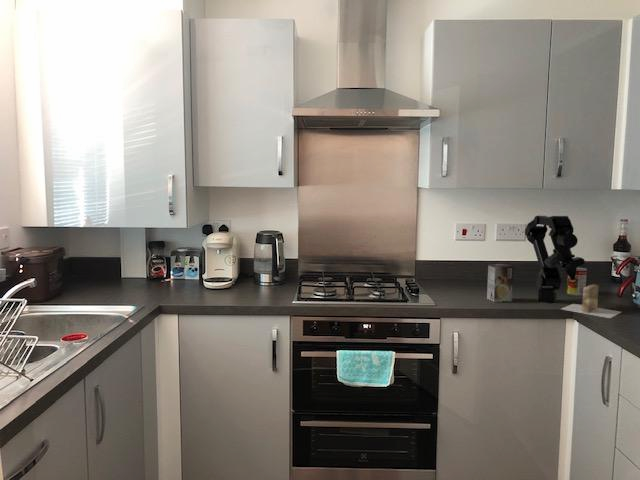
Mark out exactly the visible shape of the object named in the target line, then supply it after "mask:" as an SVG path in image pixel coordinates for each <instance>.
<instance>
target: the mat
mask: <svg viewBox="0 0 640 480" xmlns="http://www.w3.org/2000/svg"><path fill="white" fill-rule="evenodd" d="M561 310H563V311H569V312H574V313H580V314H585V315H591V316H595V317H599V318H600V317H601V318H606V319H612V318H613V317H615V316H617V315H619V314H622V311H619V310H613V309H612V310H611V309H608V308H603V307H602V308H601V307H597V309H595V310H593V311H591V312H589V313H586V312H582V304H578V303H572V304H569V305H566V306H565V307H562V308H561Z"/></svg>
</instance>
